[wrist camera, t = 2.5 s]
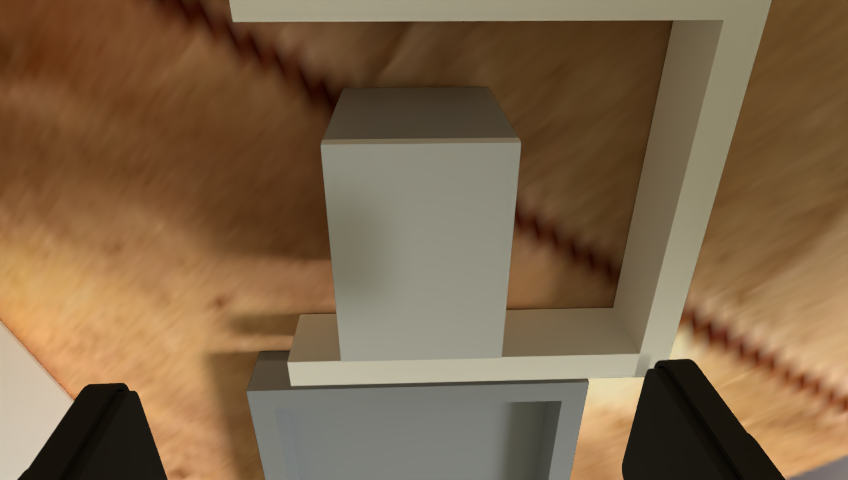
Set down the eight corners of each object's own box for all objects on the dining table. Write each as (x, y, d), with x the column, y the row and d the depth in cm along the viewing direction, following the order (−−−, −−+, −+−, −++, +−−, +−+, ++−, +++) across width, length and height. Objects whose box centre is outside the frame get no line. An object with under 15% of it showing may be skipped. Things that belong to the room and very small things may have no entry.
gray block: (487, 86, 19) (521, 142, 13) (477, 259, 22) (501, 358, 17) (343, 87, 19) (320, 144, 13) (355, 261, 22) (341, 361, 17)
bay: (721, -34, 17) (780, -29, 14) (635, 329, 24) (663, 376, 21) (253, -33, 17) (224, -28, 14) (303, 336, 24) (290, 385, 21)
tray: (572, 344, 24) (589, 382, 22) (540, 533, 31) (550, 576, 29) (259, 351, 24) (246, 391, 22) (296, 542, 31) (288, 586, 29)
